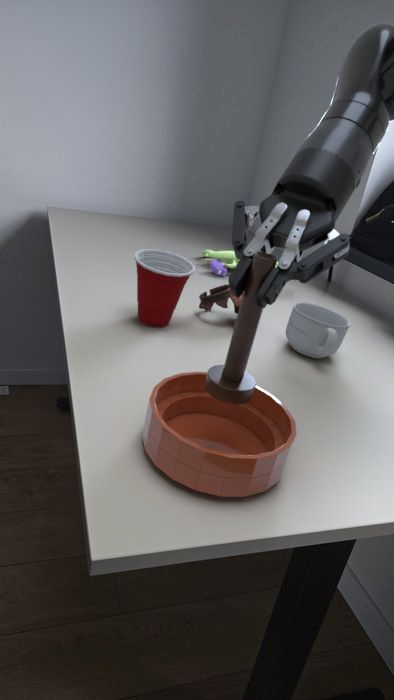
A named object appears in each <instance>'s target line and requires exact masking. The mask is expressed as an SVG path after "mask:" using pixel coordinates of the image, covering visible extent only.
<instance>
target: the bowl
mask: <svg viewBox="0 0 394 700" xmlns="http://www.w3.org/2000/svg"><path fill="white" fill-rule="evenodd" d="M207 372H208V371H207ZM207 372H206V371H190V372H189V371H188V372H180V373H177V374H174V375H173V374H172V375H170V376H168V377H165V378H163V379H162V380H160V382H158V383H156V385H155V386H154V387H153V388H152V391H151V393H150V396H149V399H148V404H147V408H146V415H145V420H144V425H143V430H142V434H141V435H142V440H143V447H144V451H145V452H146V454H147V455H148V457H149V458H150V460H151V462H152V463H153V464H154V466H156V468H158V469H159V470H160V471H162V473H164V474H165V475H166V476H167V477H169V478H170V479H171V480H173V481H175V482H177V483H178V484H181V485H183V486H185V487H187V488H189V489H192V490H193V491H196V492H201V493H205V494H209V495H212V496H216V497H222V498H223V497H224V498H225V497H227V498H228V497H229V498H231V497H232V498H233V497H234V498H244V497H249V496H252V495H256V494H260V493H263V492H266V491H268V490H269V489H270V488H272V486H274V485H276V484H277V483H278V482H279V481H280V479H281V476H282V475H283V472H284V471H285V468H286V465H287V462H288V459H289V457H290V454H291V451H292V448H293V446H294V442H295V440H296V437H297V434H298V432H297V426H296V419H295V418H294V416H293V414H292V413H291V412H290V410H289V408H288V407H287V406H286V405H285V404H283V402H281V401H280V400H279V399H278V398H277V397H275V395H274V394H271V393H270V392H268V391H267V390H265V389H263V388H261V387H260V386H258V385H256V387H255V390H254V393H253V396H252V399H251V400H250V401H249V402H247V403H244V404H229V403H225V402H222V401H219V400H217V399H215V398H214V397H212V396H211V395H209V394H208V392H207V391H206V390H205V386H204V385H205V380H206V376H207Z"/></svg>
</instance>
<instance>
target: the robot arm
mask: <svg viewBox="0 0 394 700" xmlns="http://www.w3.org/2000/svg"><path fill="white" fill-rule="evenodd" d="M393 121H394V23H392V22H389V21H388V22H378V23H374V24H372V25H370V26H368V27H367V28H365V29H364V30H363V31H361V33H360V34H359V35H358V36H357V37H356V38H355V39H354V41H353V42H352V44H350V46H349V47H348V49H347V51H346V53H345V56H344V58H343V60H342V62H341V66H340V69H339V72H338V76H337V80H336V84H335V88H334V92H333V94H332V98H331V102H330V105H329V107H328V108H327V109H326V112H325V113H324V115H323V116H322V117H321V119H320V121H319V123H317V125H316V127H315V128H314V129H313V130H312V131H311V133H310V134H309V135H308V136H307V137H306V138H305V140H304V141H303V142H302V144H301V145H300V147H299V149H298V150H297V152H296V153H295V155H294V156H293V157H292V159H291V161H290V163H288V165H287V167H286V168H285V170H284V171H283V173H282V174H281V176H280V177H279V179H278V180H277V182H276V184H275V186H274V189H273V191H272V192H271V194H270V195H269V196H267V197H265V198H264V199H263V200H261V202H260V204H255V205H247V204H246V202H245V201H244V200H238V201H236V202H235V203H234V206H233V207H234V208H233V222H232V231H231V232H232V233H231V235H232V236H231V245H232V248H233V251H234V253H235V256H236V258H237V259H240V261H239V262H237V263H236V267H235V268H233V270H232V272H231V273H230V275H229V276H228V281H227V282H228V284H229V286H230V291H231V294H232V295H233V296H235V297H237V298H239V297H240V296H241V294H242V292H243V291H244V289H245V286H246V282H247V278H248V275H249V271H250V267H251V263H252V260H253V256H254V253H255V252H264V253H268V254H271V255H272V253H273V252H274V250H275V249H276V248H280V249H283V251H282V254H281V256H280V258H279V260H278V261H277V262H278V266H277V268H275V267H273V268H272V270H271V272H270V273H269V275H268V276H267V278H266V280H265V281H264V283H263V285H262V286H261V288H260V289H259V291H258V293H257V295H256V302H257V306H259V307H262V308H263V309H266V307H267V306H268V305H269V306H272V305H273V304H274V303H275V302H276V301H277V299H278V297H279V296H280V294H281V292H282V291H283V289H284V287H285V286H286V284H287V283H288V282H290V281H298V282H300V283H301V284H308V283H309V282H310V281H312V280H314V279H315V278H317V277H318V276H320V275H322V274H323V273H324V272H326V271H327V270H329V269H331V268H332V267H333V266H334V265H336V264H338V263H340V262H341V261H343V260H345V258H347V257H348V256H349V252H350V243H351V242H350V239H351V238H350V235H349V234H348V233H340V232H339V231H338V230H337V229H336V222H337V221H338V219H339V217H340V215H341V214H342V212H343V210H344V209H345V207H346V205H347V204H348V202H349V200H350V199H351V197H352V195H353V194H354V192H355V190H357V189H358V187H359V185H360V183H361V181H362V179H363V176H364V175H365V173H366V170H367V168H368V165H369V163H370V161H371V159H372V157H373V155H374V154H375V152H376V150H377V148H378V147H379V145H380V144H381V142H382V140H383V139H384V137H385V135H386V134H387V131H388V128H389V125H390V122H393ZM258 218H260V226H259V227H258V228H257V230H256V231H255V233H254V237H253V238H252V239H251V240H250V242H249V243H248V234H249V233H248V231H249V229H251V228H252V227H253V225H254V224H255V221H256V220H257V219H258ZM321 243H323V244H322V245H321V246H320V247H318V248H316V249H315V250H314V251H313V252H311V253H310V254H308V255H306V256H305V257H303V256H304V253H305V251H307V250H309V249H310V248H312V247H314V246H317V245H319V244H321Z"/></svg>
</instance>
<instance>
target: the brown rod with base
mask: <svg viewBox="0 0 394 700" xmlns="http://www.w3.org/2000/svg"><path fill="white" fill-rule="evenodd" d="M278 261H279V260H278V257H277V256H275V255H273V254H272V253H271V254H268V253H264V252H255V253H254V256H253V260H252V263H251V267H250V271H249V275H248V278H247V282H246V286H245V290H244V293H243V297H242V301H241V304H240V308H239V312H238V314H237V316H236V318H235V319H236V323H234V327H233V331H232V333H231V334H232V335H231V338H230V342H229V345H228V350H227V353H226V357H225V361H224V364H217V365H212V366H211V367H210V368H209V369H208V370H207V376H206V380H205V385H204V386H205V390H206V391H207V392H208V394H209V395H211V396H212V397H214V398H215V399H217V400H219V401H222V402H225V403H229V404H244V403H247V402H249V401H250V400H251V399H252V396H253V393H254V390H255V387H256V386H257V380H256V378H255V377H254V376H253V374H251V373H250V372H248V371H246V369H247V365H248V362H249V360H250V355H251V352H252V348H253V345H254V341H255V339H256V335H257V331H258V328H259V324H260V320H261V318H262V315H263V311H264V308H262V307H259V306H257V302H256V295H257V293H258V291H259V289H260V288H261V286H262V285H263V283H264V281H265V280H266V278H267V276H268V275H269V273H270V272H271V270H272V268H273V267H275V266H276V263H277V262H278Z"/></svg>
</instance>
